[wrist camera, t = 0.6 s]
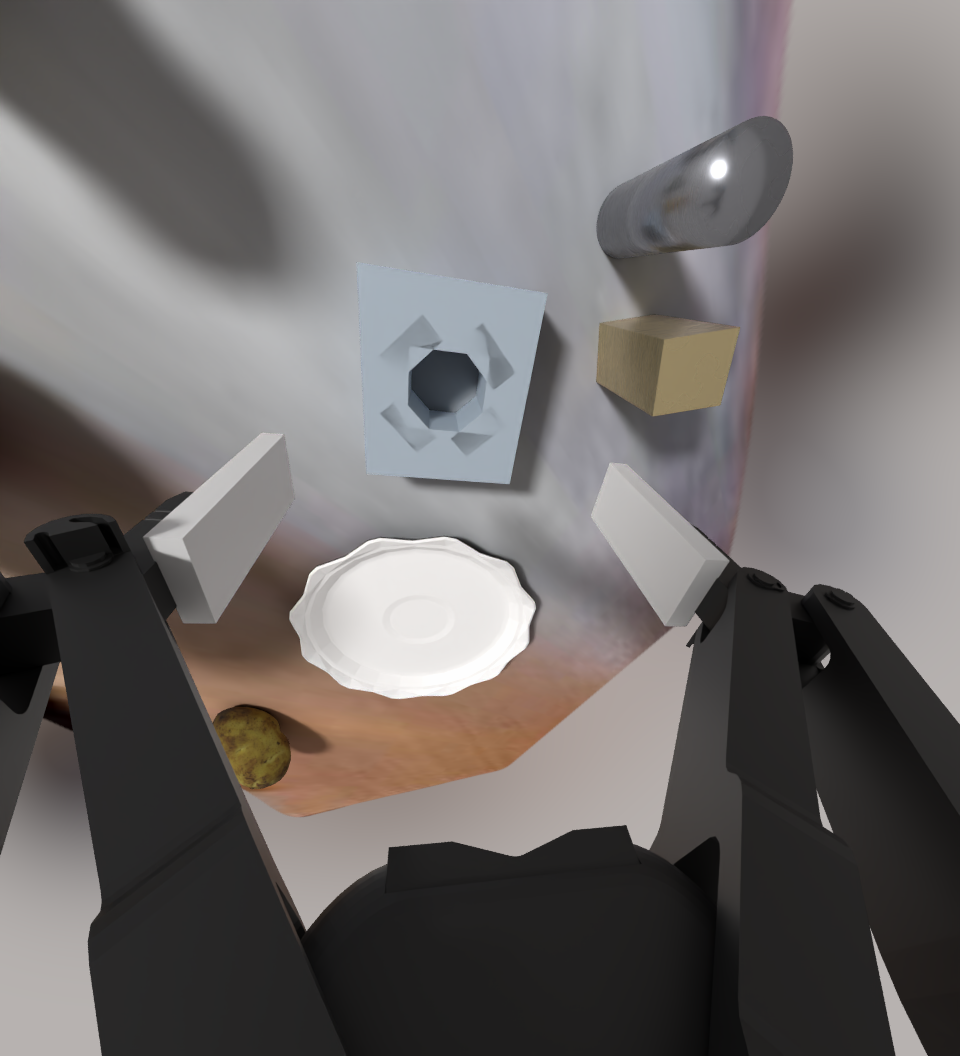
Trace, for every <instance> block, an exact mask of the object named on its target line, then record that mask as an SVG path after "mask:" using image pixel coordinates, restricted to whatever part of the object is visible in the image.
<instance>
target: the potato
mask: <svg viewBox="0 0 960 1056" xmlns="http://www.w3.org/2000/svg"><path fill="white" fill-rule="evenodd" d="M213 726H214V728H215V730H216V732H217V735H218V737H219V739H220V741H221V744H222V746H223V748H224V750H225V752H226V755H227V757H228V759H229V761H230V764H231V766H232V768H233V770H234V773H235V775H236V777H237V779H238V782H239V783H240V784H242V785H243V786H245V787H249V788H250V789H261V788H265V787H268V786H271V785H273V784H275V783H276V782H278V781H280V780H281V779H282V777H283V776H284V775H285V774H286V772H287V770H288V767H289V764H290V761H291V751H290V746H289V744H290V743H289V741H288V739H287V738H286V736H285V735H284V734H283V733H281V732H280V727H279V723H278V721H277V720H276V719H275V718H274V717H273V716H271V715H270V714H268V713H267V712H264V711H262V710H258V709H255V708H250V707H232V708H229V709H226V710H223V711H221V712H220V713H218V714H217V716H216V718H215V719H214V721H213Z"/></svg>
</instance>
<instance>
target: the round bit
mask: <svg viewBox="0 0 960 1056" xmlns="http://www.w3.org/2000/svg"><path fill="white" fill-rule="evenodd" d="M792 149H793V148H792V142H791V138H790V135H789V133H788V131H787V129H786V128H785V126H784V125H783V124H782V123H781V122H780V121H778V120H777V119H774V118H772V117H767V116H760V117H755V118H752V119H749V120H747V121H745V122H743V123H741V124H739V125H737V126H735V127H733V128H731V129H729V130H727V131H725V132H723V133H721V134H719V135H717V136H715V137H713V138H711V139H709V140H707V141H705V142H703V143H702V144H700V145H698V146H696V147H694V148H692V149H690V150H688V151H686V152H684V153H682V154H680V155H678V156H676V157H674V158H672V159H670V160H668V161H666V162H664V163H662V164H660V165H658V166H656V167H654V168H652V169H651V170H649V171H647V172H645V173H643V174H641V175H639V176H637V177H635V178H633V179H631V180H629V181H627V182H625V183H623V184H621V185H619V186H618V187H616V188H615V189H614V190H613V191H612V192H611V193H610V194H609V195H608V196H607V198H606V199H605V201H604V203H603V205H602V206H601V209H600V212H599V215H598V220H597V237H598V241H599V244H600V246H601V248H602V249H603V251H604V252H605V253H606V254H608V255H609V256H611V257H614V258H627V257H636V256H644V255H653V254H661V253H669V252H678V251H686V250H695V249H703V248H711V247H720V246H728V245H734V244H737V243H740V242H743V241H744V240H746V239H748V238H750V237H751V236H752V235H754V234H755V233H756V232H757V231H759V230H760V229H761V228H762V227H763V226H764V225H765V224H766V222H767V221H768V220H769V219H770V218H771V216H772V215H773V213H774V212H775V210H776V209H777V207H778V205H779V204H780V202H781V200H782V198H783V196H784V193H785V191H786V188H787V186H788V182H789V179H790V174H791V170H792V163H793V150H792Z"/></svg>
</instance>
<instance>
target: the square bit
mask: <svg viewBox="0 0 960 1056" xmlns="http://www.w3.org/2000/svg"><path fill="white" fill-rule="evenodd" d="M739 330H740V327H735V326H729V325H722V324H716V323H709V322H702V321H696V320H689V319H682V318H676V317H669V316H663V315H656V314H653V315H647V316H641V317H635V318H628V319H622V320H616V321H610V322H603V323H600V326H599V343H598V361H597V379H596V382H598V383H599V384H601V385H602V386H604V387H606V388H607V389H609V390H611V391H612V392H614V393H615V394H617V395H619V396H620V397H622V398H623V399H625V400H627V401H628V402H630V403H632V404H633V405H635V406H636V407H638V408H640V409H641V410H643V411H645V412H646V413H648V414H649V415H651V416H659V415H665V414H671V413H677V412H683V411H689V410H695V409H701V408H707V407H713V406H719V405H720V404H721V400H722V397H723V393H724V389H725V385H726V381H727V377H728V373H729V369H730V365H731V361H732V357H733V353H734V350H735V346H736V342H737V338H738V334H739Z"/></svg>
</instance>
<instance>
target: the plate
mask: <svg viewBox="0 0 960 1056" xmlns="http://www.w3.org/2000/svg"><path fill="white" fill-rule="evenodd" d="M535 610H536V606H535V601H534V600H533V599H532V597H531V596H530V595H529V594H528V593H527V592H526V591H525V590H524V589H523V588H522V586H521V585H520V582H519V579H518V577H517V574H516V572H515V569H514V567H513V566H512V565H511V564H510V563H509V562H507V561H506V560H503V559H499V558H496V557H493V556H490V555H486V554H483V553H480V552H478V551H477V550H475V549H473V548H472V547H470V546H469V545H467V544H465V543H464V542H462V541H460V540H459V539H457V538H453V537H448V536H439V537H432V538H424V539H416V540H409V539H397V538H386V537H379V538H375V539H370V540H368V541H366V542H365V543H363V544H362V545H360V546H359V547H357V548H356V549H355V550H353V551H352V552H350V553H349V554H347V555H346V556H344V557H341V558H338V559H335V560H332V561H330V562H327V563H324V564H321V565H318V566H317V567H315V568H314V569H313V570H312V571H311V572H310V574H309V577H308V580H307V584H306V587H305V591H304V594H303V596H302V597H301V598H300V599H299V601H298V602H297V603H296V604H295V606H294V607H293V608H292V610H291V611H290V618H289V620H290V622H291V623H292V625H293V627H294V629H295V630H296V632H297V634H298V636H299V637H300V643H301V651H302V656H303V657H304V658H305V659H306V660H307V661H308V662H310V663H311V664H313V665H315V666H317V667H319V668H320V669H322V670H324V671H326V672H327V673H328V674H330V675H331V676H332V677H333V678H334V679H335V680H336V681H337V682H338V683H339V684H340V685H342V686H345V687H347V688H350V689H357V690H363V691H370V692H374V693H377V694H380V695H383V696H386V697H389V698H394V699H404V698H411V697H418V696H446V695H450V694H454V693H456V692H458V691H460V690H462V689H464V688H466V687H468V686H470V685H472V684H476V683H479V682H482V681H486V680H489V679H492V678H494V677H495V676H497V675H499V674H500V672H501V671H502V670H503V668H504V667H505V666H506V665H507V663H508V662H509V661H510V660H511V659H512V658H514V657H515V656H516V655H518V654H519V653H520V652H521V651H523V650H524V649H525V648H526V647H527V645H528V643H529V626H530V623H531V620H532V618H533V615H534V613H535Z"/></svg>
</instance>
